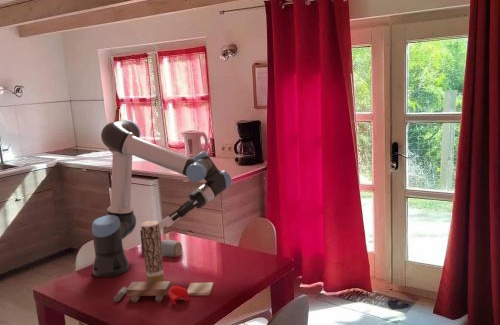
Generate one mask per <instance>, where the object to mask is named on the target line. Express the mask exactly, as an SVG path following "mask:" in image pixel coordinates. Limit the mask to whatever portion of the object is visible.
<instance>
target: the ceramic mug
mask: <svg viewBox="0 0 500 325" xmlns="http://www.w3.org/2000/svg"><path fill="white" fill-rule="evenodd" d="M161 252H162V257H171V258H176V257H179V256H180V255H181V254H182V252H183V246H182V243H181V242H180V241H178V240H172V239H163V240H161Z"/></svg>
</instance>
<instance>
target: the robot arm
mask: <svg viewBox="0 0 500 325" xmlns="http://www.w3.org/2000/svg"><path fill="white" fill-rule="evenodd" d="M100 137H101V138H100V139H101V141H102V143H103V146H105V147H106V148H107V149H108V150H109V152H110V153H111V154H112V158H111V160H112V162H111V164H112V165H111V190H110V192H111V193H110V194H111V195H110V197H111V198H110V206H107V210H106V212H107V214H106V215H102V216H101V217H98V218H95V219H94V220H93V222H92V224H91V232H92V233H91V234H92V238H93V246H94V247H93V248H94V254H95V255H94V260H93V266H92V272H93V274H92V275H93V276H94V277H97V278H111V277H116V276H119V275H122V274H124V273H126V272H127V271H128V270H129V269H130V264H129V261H128V259H127V257H126V255H125V253H124V246H123V240H124V239H125V238H126V237H127V236H129V235H130V234H131V233H132V232H133V231H134V229H135V228H136V226H137V218H136V215H135V214H134V208H133V206H132V205H131V196H132V174H133V173H132V172H133V171H132V170H133V156H134V157H135V158H139V159H142V160H144V161H147V162H149V163H152V164H154V165H157V166H160V167H162V168H165V169H166V170H170V171H173V172H174V173H177V174H180V175H182V176H185V177H187V179H188V180H189V181H190V182H194V183H197V182H200V181H203V180H204V181H205V183H203V184H201V185H200V186H199V187H198V188H196V189H194V190H193V191H192V192H191V193H189V195H188V196H189V197H188V198H189V200H187V201H185V202H184V203H183V204H182V205H180V207H178V208H177V209H176V210H175V211H173V212H171V213H170V214H168V216H165V218H163V219H162V220H160V221H158V223H159V230H160V231H161V230H162V229H164V228H165V227H166V228H167V229H168V228H169V227H171V226H172V225H173V224H175V223H176V222H177V221H178V220H180V219H181V218H182V217H184V216H186V215H187V214H188V213H189V212H190V211H192V210H194V208H196V209H201V208H203V207H204V206H205V205H206V204H207V203H209V202H213V199H215V198H216V197H217V196H219V195H220V194H221V193H222V192H224V191H225V190H227V189H228V188H229V187H230V186H231V185H232V184H233V179H232V177H231V175H230V174H229V173H228V171H226V170H221V171H220V170H219V169H218V167H217V165H216V164H215V163H214V161H213V160H212V159H211V157H210V155H208V153H207V152H206V150H202V151H201V152H200V153H198V154H197V155H195V156H194V157H192V158H191V157H189V156H186V155H183V154H182V153H179V152H176V151H173V150H171V149H167V148H165V147H162V146H160V145H158V144H154V143H152V142H149V141H147V140H145V139H142V138H141V130H140V128H139V126H138V125H137V123H136V122H134V121H132V120H130V119H129V120H128V119H121V120H118V121H113V122H109V123H107V124H106V125H105V126H104V127H103V128H102V130H101V134H100Z"/></svg>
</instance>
